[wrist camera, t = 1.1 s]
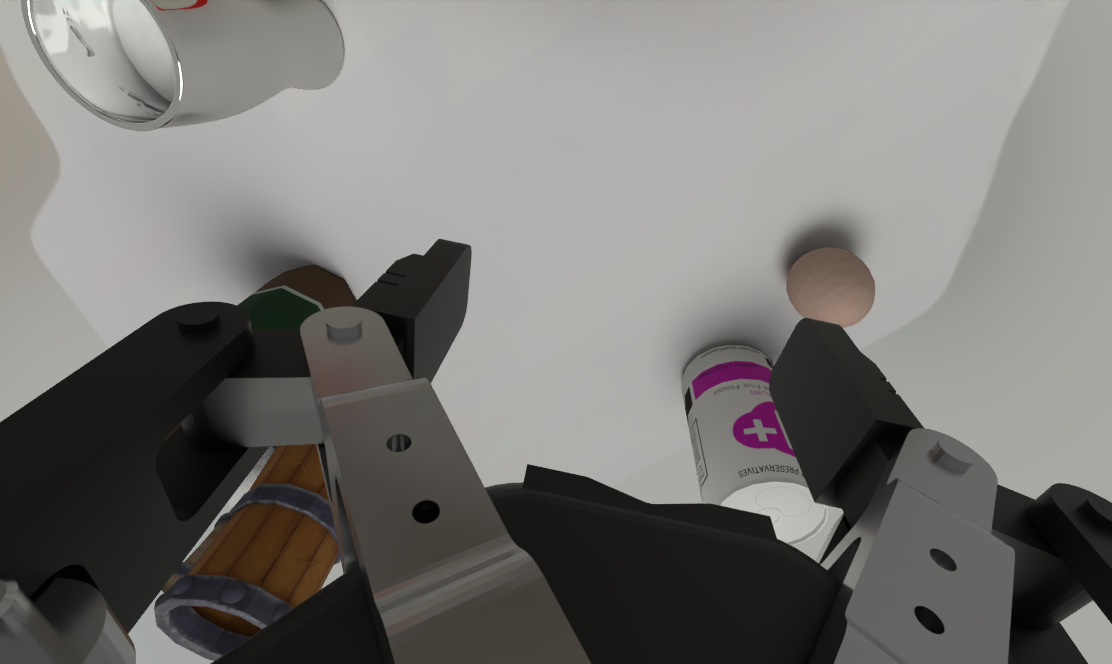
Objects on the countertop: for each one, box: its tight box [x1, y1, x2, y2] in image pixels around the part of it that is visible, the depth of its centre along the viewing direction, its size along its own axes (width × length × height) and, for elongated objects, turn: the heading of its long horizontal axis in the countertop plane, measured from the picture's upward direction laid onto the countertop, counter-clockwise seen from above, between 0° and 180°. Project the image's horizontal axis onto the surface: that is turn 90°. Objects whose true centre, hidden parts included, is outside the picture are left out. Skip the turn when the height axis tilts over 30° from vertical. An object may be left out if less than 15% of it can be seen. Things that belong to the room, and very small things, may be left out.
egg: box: [787, 247, 875, 327], centre depth 34 cm, size 5×5×7 cm
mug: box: [154, 444, 341, 661], centre depth 48 cm, size 19×14×20 cm
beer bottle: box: [161, 265, 356, 445], centre depth 34 cm, size 8×8×24 cm
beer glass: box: [21, 0, 344, 131], centre depth 26 cm, size 7×7×15 cm
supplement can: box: [682, 345, 828, 546], centre depth 38 cm, size 8×8×15 cm
